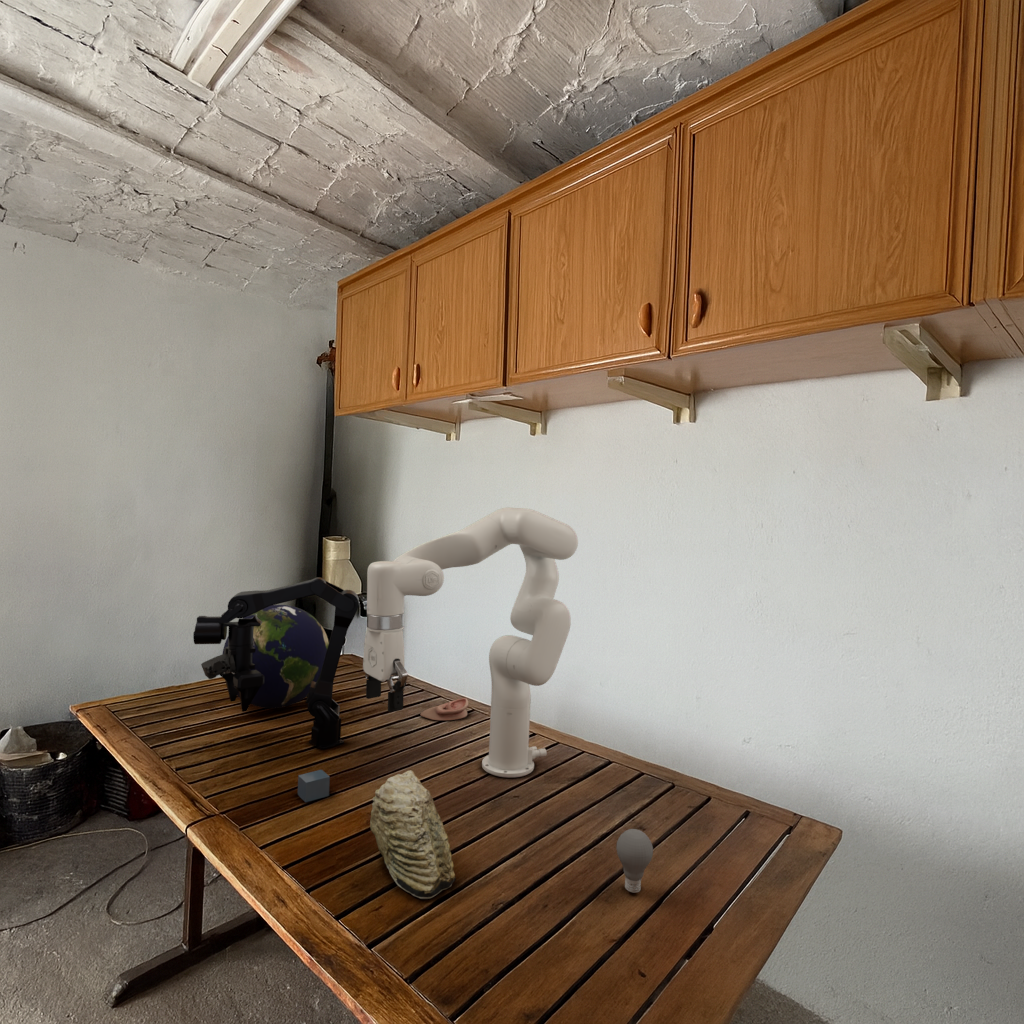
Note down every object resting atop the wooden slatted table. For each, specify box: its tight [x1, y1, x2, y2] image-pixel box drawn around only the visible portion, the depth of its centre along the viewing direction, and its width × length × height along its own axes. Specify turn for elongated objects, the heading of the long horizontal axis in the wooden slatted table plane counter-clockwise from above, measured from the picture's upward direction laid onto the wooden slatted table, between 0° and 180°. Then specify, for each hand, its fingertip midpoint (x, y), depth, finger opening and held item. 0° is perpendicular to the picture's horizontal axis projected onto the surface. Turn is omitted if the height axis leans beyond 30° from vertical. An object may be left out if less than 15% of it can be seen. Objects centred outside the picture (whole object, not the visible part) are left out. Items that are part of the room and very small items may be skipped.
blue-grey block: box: [297, 769, 331, 803], centre depth 134 cm, size 4×5×4 cm
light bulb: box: [615, 828, 654, 894], centre depth 106 cm, size 6×6×10 cm
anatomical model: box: [419, 697, 469, 721], centre depth 187 cm, size 13×4×12 cm
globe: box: [221, 604, 329, 709], centre depth 188 cm, size 30×30×30 cm
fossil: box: [369, 769, 456, 900], centre depth 109 cm, size 9×18×15 cm, turn 46°
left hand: (238, 706), depth 157 cm, fingers open, 9 cm apart
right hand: (384, 703), depth 131 cm, fingers open, 9 cm apart
